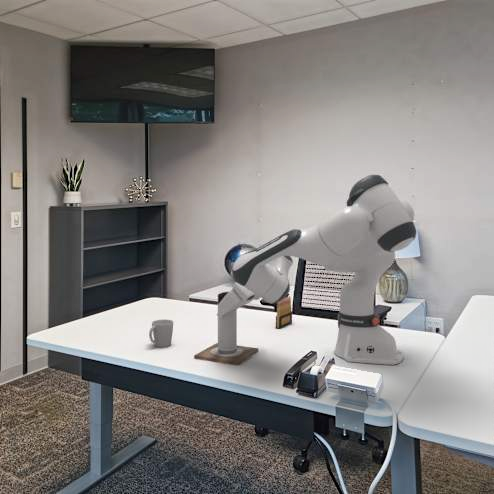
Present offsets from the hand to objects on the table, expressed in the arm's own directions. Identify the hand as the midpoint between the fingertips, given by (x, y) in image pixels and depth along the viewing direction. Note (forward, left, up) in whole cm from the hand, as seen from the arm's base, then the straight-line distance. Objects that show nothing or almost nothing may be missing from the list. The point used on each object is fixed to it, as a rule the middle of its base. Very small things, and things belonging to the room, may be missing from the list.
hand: (225, 313), depth 164 cm
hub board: (-1, 0, -14) cm, 14 cm away
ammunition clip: (-4, -44, -14) cm, 46 cm away
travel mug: (-1, 0, -13) cm, 13 cm away
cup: (+25, +1, -14) cm, 29 cm away
